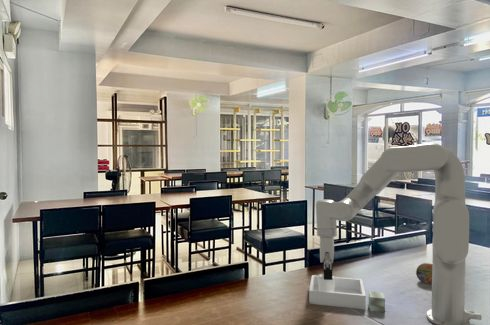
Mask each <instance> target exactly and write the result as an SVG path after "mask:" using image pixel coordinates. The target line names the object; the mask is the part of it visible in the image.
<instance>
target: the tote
mask: <svg viewBox="0 0 490 325" xmlns="http://www.w3.org/2000/svg"><path fill="white" fill-rule="evenodd" d="M335 277H336V279H335V289H334V292H331V291H320V290H319V284H318V275H316V274H314V275H313V274H312V275H311V279H310V285H309V290H308V292H309V294H308V296H309V297H308V300H309V301H308V303H309V304H310V305H319V306H329V307H339V308H348V309H356V310H357V309H359V310H366V309H367V308H366V291H365V287H364V282H363V279H362V278H353V277H343V276H342V277H341V276H340V277H339V276H335Z"/></svg>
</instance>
